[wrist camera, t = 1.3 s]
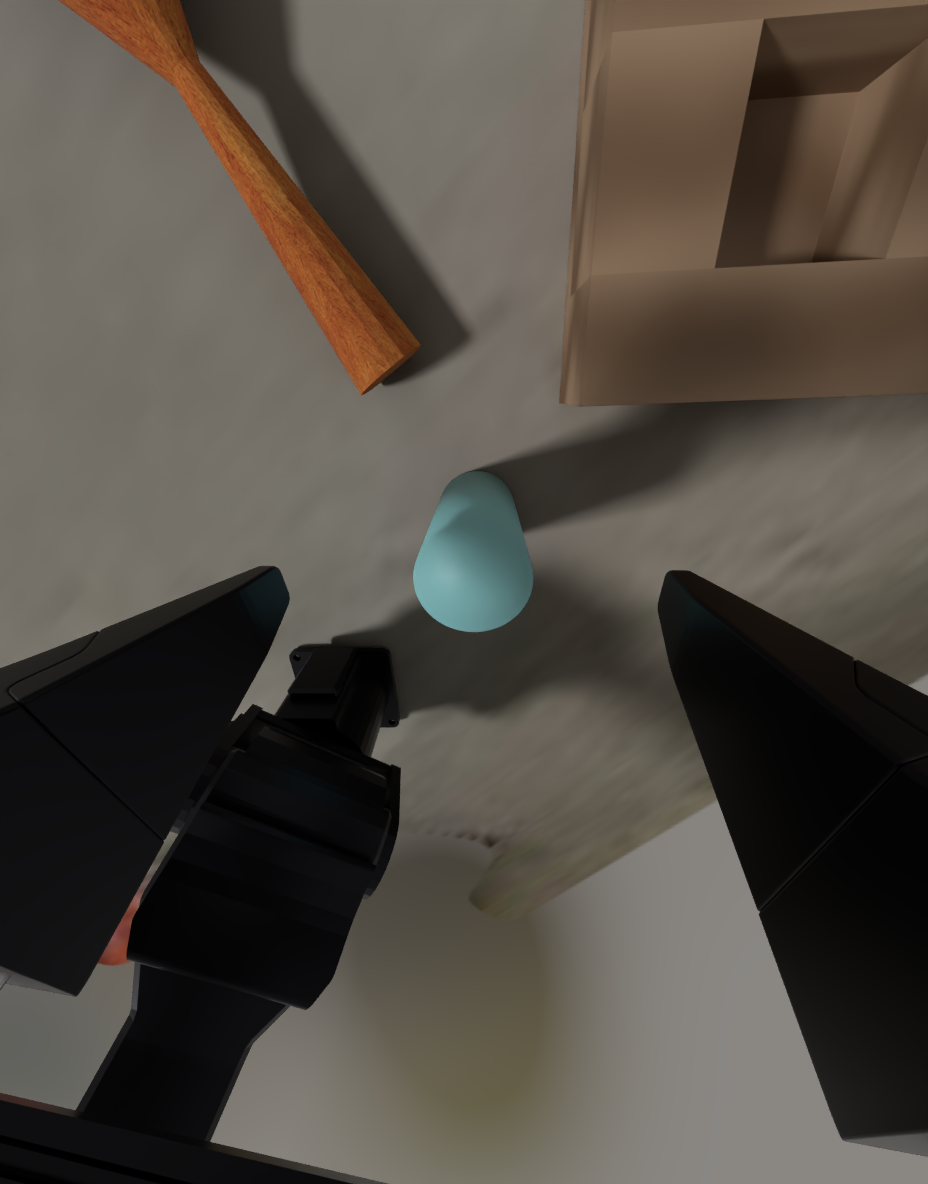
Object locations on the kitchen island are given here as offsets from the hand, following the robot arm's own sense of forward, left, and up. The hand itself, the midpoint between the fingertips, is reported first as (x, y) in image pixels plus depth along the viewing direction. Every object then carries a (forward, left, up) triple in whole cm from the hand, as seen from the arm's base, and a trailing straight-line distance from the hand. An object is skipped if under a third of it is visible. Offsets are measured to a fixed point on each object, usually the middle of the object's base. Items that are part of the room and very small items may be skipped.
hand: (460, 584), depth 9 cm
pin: (-2, 0, -13) cm, 13 cm away
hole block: (+10, -11, -13) cm, 19 cm away
